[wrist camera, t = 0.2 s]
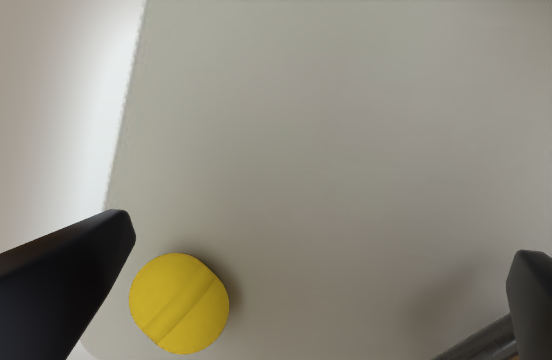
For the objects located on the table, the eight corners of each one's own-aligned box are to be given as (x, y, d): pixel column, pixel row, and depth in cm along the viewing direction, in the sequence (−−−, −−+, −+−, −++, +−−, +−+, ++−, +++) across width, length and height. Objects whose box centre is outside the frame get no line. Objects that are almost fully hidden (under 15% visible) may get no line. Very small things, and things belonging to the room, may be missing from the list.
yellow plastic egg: (255, 290, 24) (226, 345, 19) (210, 330, 26) (173, 389, 21) (186, 224, 24) (139, 262, 19) (146, 269, 26) (94, 314, 21)
